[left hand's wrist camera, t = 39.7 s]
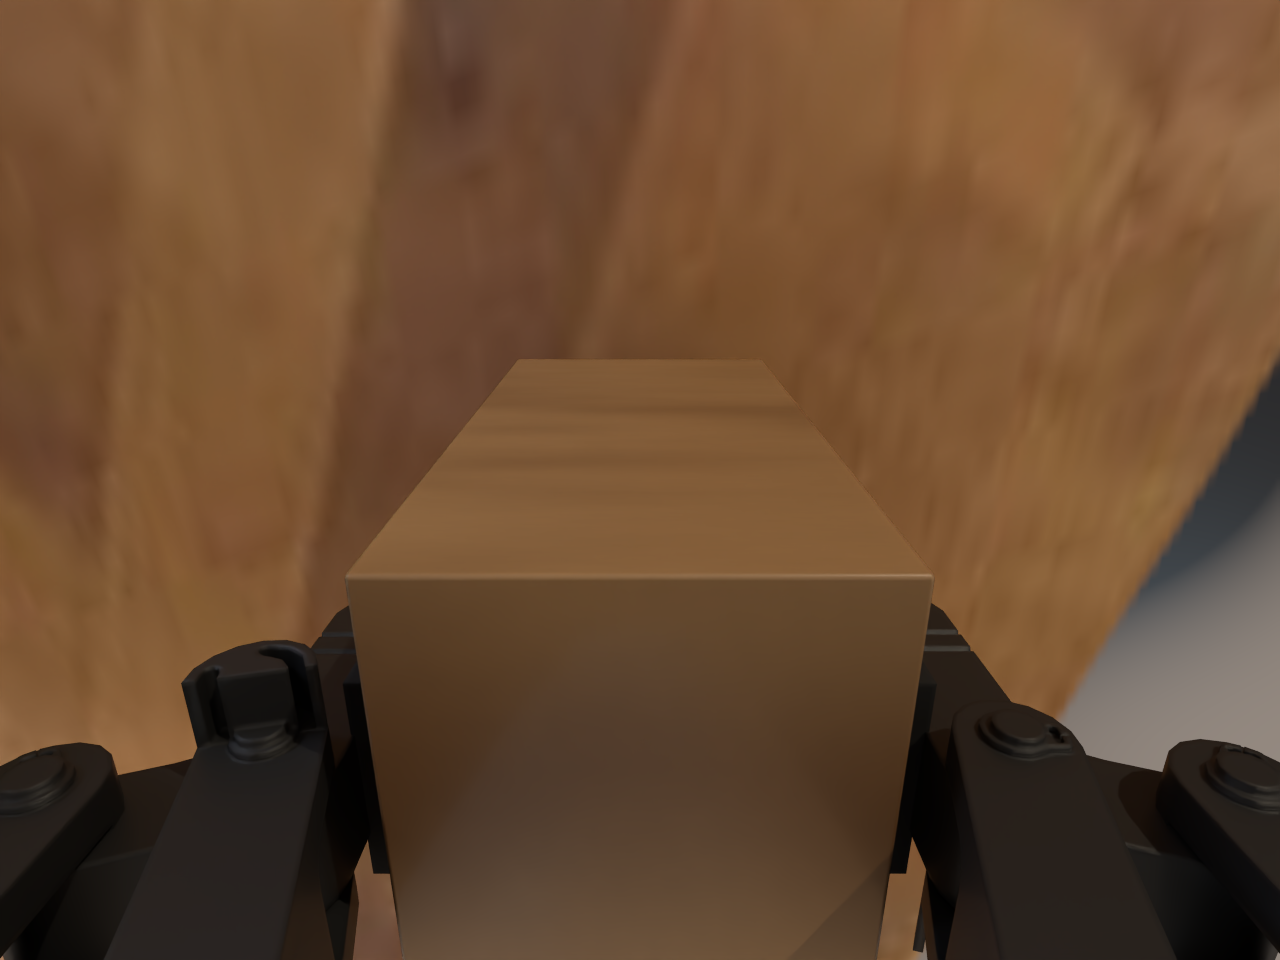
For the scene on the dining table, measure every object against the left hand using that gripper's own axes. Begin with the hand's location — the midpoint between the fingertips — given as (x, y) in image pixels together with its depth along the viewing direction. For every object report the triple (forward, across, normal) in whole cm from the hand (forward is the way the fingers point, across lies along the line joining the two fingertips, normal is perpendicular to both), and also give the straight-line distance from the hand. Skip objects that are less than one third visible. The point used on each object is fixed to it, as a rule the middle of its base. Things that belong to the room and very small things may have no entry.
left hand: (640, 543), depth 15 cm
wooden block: (+2, 0, 0) cm, 2 cm away
